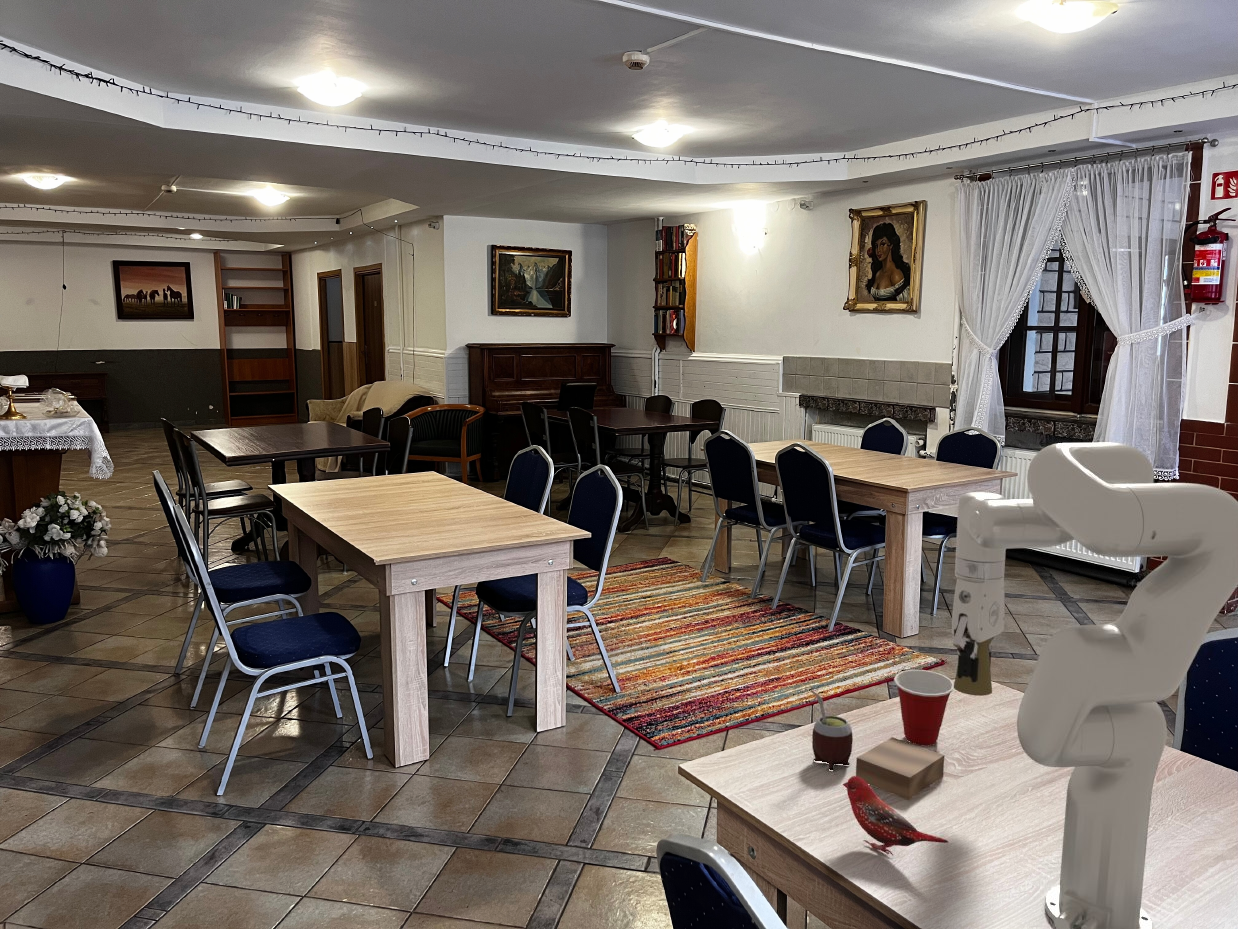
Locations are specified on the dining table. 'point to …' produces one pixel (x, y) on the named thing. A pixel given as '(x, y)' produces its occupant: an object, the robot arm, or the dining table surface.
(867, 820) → the decorative bird figurine
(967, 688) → the olive pawn figure
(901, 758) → the walnut plinth
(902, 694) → the plastic cup
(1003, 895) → the dining table surface
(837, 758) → the mate gourd
